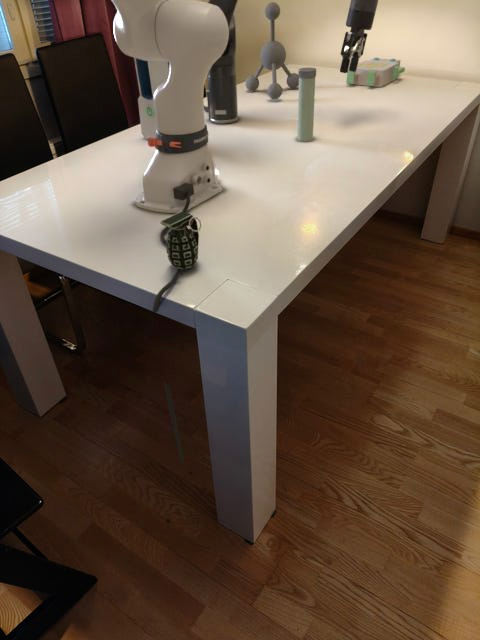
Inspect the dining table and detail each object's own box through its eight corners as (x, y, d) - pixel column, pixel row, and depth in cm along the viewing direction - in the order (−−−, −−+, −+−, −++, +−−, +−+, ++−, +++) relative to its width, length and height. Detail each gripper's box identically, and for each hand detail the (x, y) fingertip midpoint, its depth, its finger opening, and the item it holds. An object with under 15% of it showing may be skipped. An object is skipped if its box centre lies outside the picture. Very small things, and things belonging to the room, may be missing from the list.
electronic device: (141, 137, 154) (123, 28, 136) (159, 131, 158) (144, 24, 140) (166, 145, 147) (151, 30, 129) (185, 138, 151) (172, 26, 133)
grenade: (182, 278, 88) (175, 228, 82) (162, 268, 91) (153, 219, 85) (208, 263, 92) (203, 214, 85) (187, 253, 95) (181, 205, 89)
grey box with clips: (365, 55, 208) (411, 58, 198) (363, 72, 212) (408, 76, 202) (337, 67, 192) (386, 71, 182) (336, 85, 196) (383, 90, 186)
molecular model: (318, 92, 188) (323, -1, 170) (273, 103, 179) (272, 6, 161) (281, 82, 204) (281, -3, 186) (237, 91, 195) (233, 3, 176)
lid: (318, 76, 134) (318, 70, 133) (301, 78, 133) (301, 71, 132) (312, 73, 137) (312, 66, 136) (296, 75, 137) (296, 68, 136)
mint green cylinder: (314, 140, 144) (317, 71, 133) (300, 142, 144) (302, 73, 132) (309, 136, 148) (312, 68, 137) (295, 137, 147) (297, 70, 136)
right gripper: (357, 8, 145) (343, 68, 154) (342, 5, 134) (328, 70, 143) (381, 12, 143) (366, 73, 152) (368, 9, 132) (352, 75, 141)
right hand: (347, 71), depth 147 cm, fingers open, 8 cm apart
